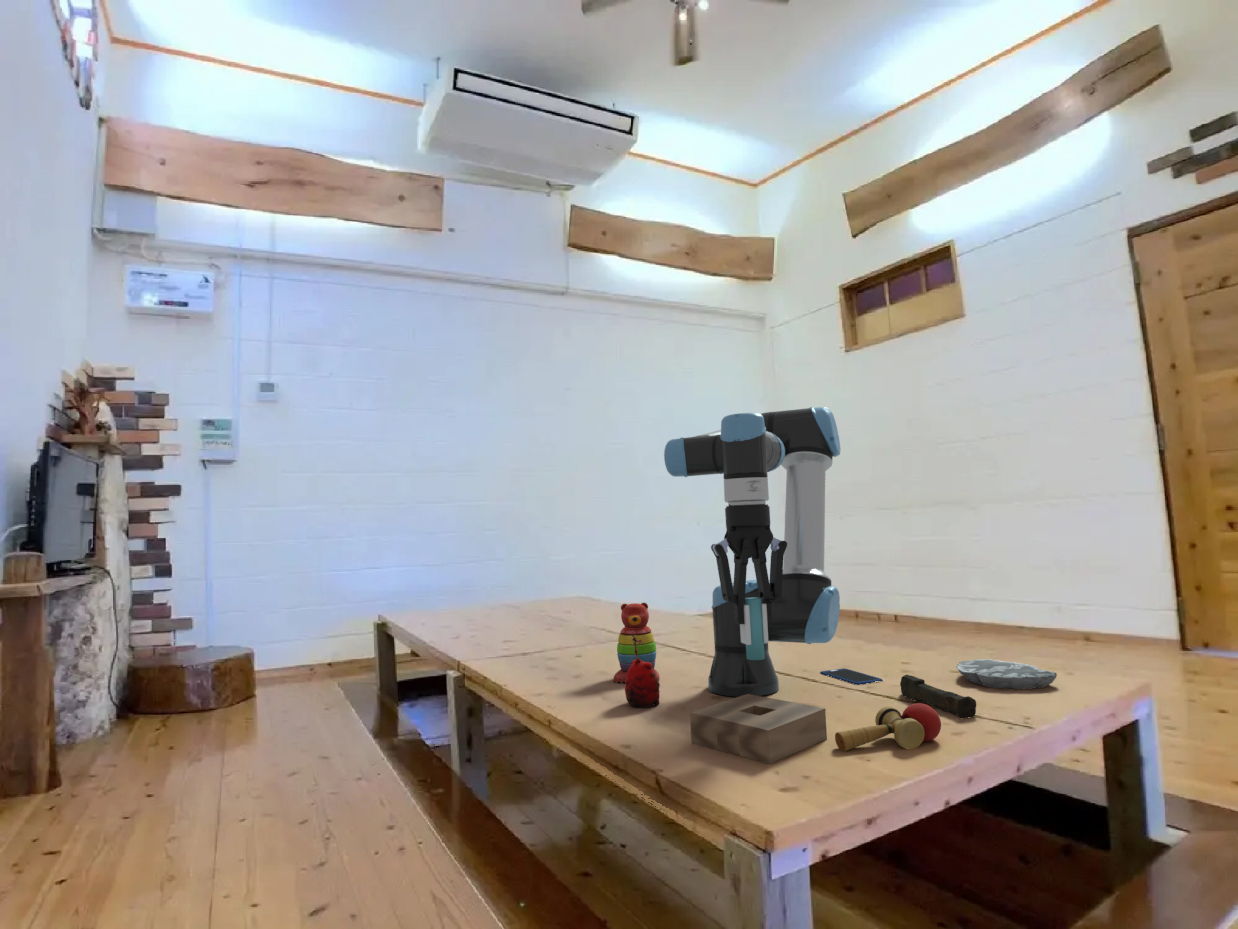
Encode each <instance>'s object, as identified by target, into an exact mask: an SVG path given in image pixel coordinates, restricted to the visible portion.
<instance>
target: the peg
mask: <svg viewBox="0 0 1238 929" xmlns="http://www.w3.org/2000/svg"><path fill="white" fill-rule="evenodd" d="M761 604H762V603H761V598H745V603H744V605H749V610H750V629H751V645H746V656H747V659H749V660H762V659H765V655H764V643H763V626H762V609H761Z"/></svg>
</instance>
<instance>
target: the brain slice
mask: <svg viewBox="0 0 1238 929" xmlns="http://www.w3.org/2000/svg"><path fill="white" fill-rule="evenodd" d="M955 667H956V670H957V671H958V672H959V673H960V674H961V676H964V677H965V678H966V679H967V680H969V681H970V682H971V683H973V684H977V685H984V686H985V687H988V688H996V689H1012V690H1031V689H1030V688H1033V689H1035V688H1034V687H1044V688H1046V687H1049V685H1051V684H1053V682H1054V681H1055V680H1056V678H1057V676H1058V674H1057V672H1055V671H1051V670H1046V669H1041V668H1039V667H1037V666H1034V665H1032V664H1026V663H1022V662H1013V661H1004V660H997V659H996V660H995V659H989V658H980V659H977V658H976V659H972V660H971V659H970V660H964V661H963V660H962V661H959V662H958V663H957V665H956V666H955Z"/></svg>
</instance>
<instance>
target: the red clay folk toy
mask: <svg viewBox="0 0 1238 929" xmlns="http://www.w3.org/2000/svg"><path fill="white" fill-rule="evenodd" d="M632 636H633V637H634V638H633V639H632V640H633V641H634V646H635V649H634V652H635V654H636V660H633V661H632V664H631V666H630V668H629V669H628V671H627V676H626V678H625V683H624V692H625V698H626V701H627V704H628V705H629V706H631V707H635V708H640V707H641V708H650V707H653V706H658V705H659V704H660V686H661V685H660V683H659V682H660V681H658V678H657V675H656V673H655V671H654V669H655V668H654V669H653V665H652V664H651V663H650V662H643V661H641V660H640V659H639V658H638V655H637V651H638V649H637V648H636V642H638V643H639V644H642V642H641V641H642V640H636V637H635V635H633V632H632Z"/></svg>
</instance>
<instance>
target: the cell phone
mask: <svg viewBox="0 0 1238 929" xmlns="http://www.w3.org/2000/svg"><path fill="white" fill-rule="evenodd" d="M819 673H821V674H820V675H823V674H824V675H823V676H826V675H829V676H828V677H830V676H832V677H831V678H833V677H835V678H834V679H836V678H838V679H837V680H839V679H841V680H840V681H842V680H844V681H843V682H846V681H848V682H847V683H849V682H851V683H850V684H852V683H854V684H853V685H855V684H857V686H860V684H862V685H867V684H866V683H869V684H872V683H871V682H875V681H882V682H883V679H882V678H880V677H877V676H874V675H869V674H867V673H864V672H860V671H856V670H853V669H849V668H845V667H843V668H837V669H830V670H821V671H820V672H819Z"/></svg>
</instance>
